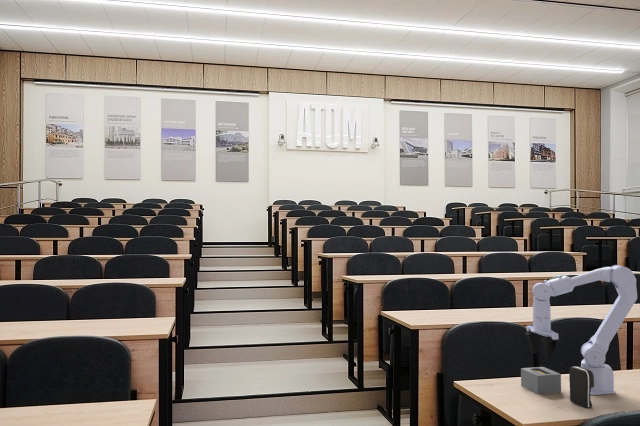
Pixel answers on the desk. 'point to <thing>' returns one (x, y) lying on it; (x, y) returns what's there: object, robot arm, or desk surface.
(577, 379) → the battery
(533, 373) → the coin box
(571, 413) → the desk surface
